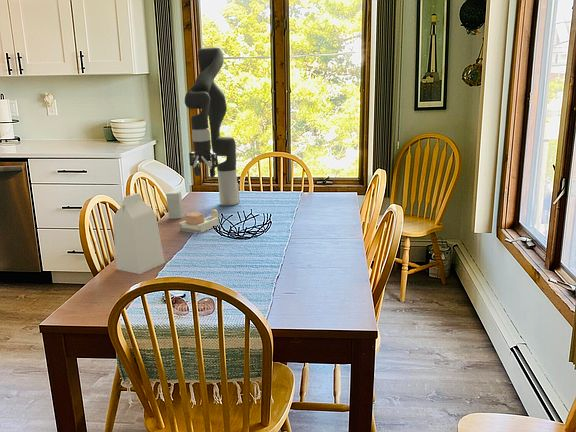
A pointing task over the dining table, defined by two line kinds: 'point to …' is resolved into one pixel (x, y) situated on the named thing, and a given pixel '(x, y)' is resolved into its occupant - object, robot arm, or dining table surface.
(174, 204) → the skincare box
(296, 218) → the dining table surface
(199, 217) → the peach block with knob
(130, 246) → the milk
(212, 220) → the shelf lane
